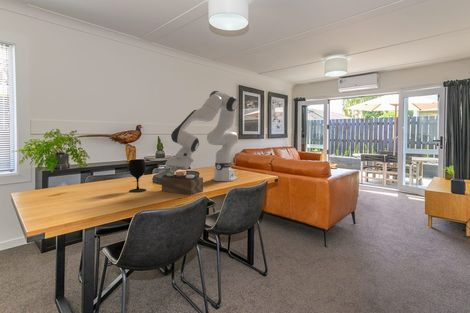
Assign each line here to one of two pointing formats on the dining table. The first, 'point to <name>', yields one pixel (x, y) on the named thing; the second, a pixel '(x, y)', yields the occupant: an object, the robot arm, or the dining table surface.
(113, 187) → the dining table surface
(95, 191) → the dining table surface
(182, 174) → the terracotta button
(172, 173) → the sage button
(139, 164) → the wine glass
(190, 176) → the cream button
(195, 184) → the dark brown wooden box
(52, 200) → the dining table surface
